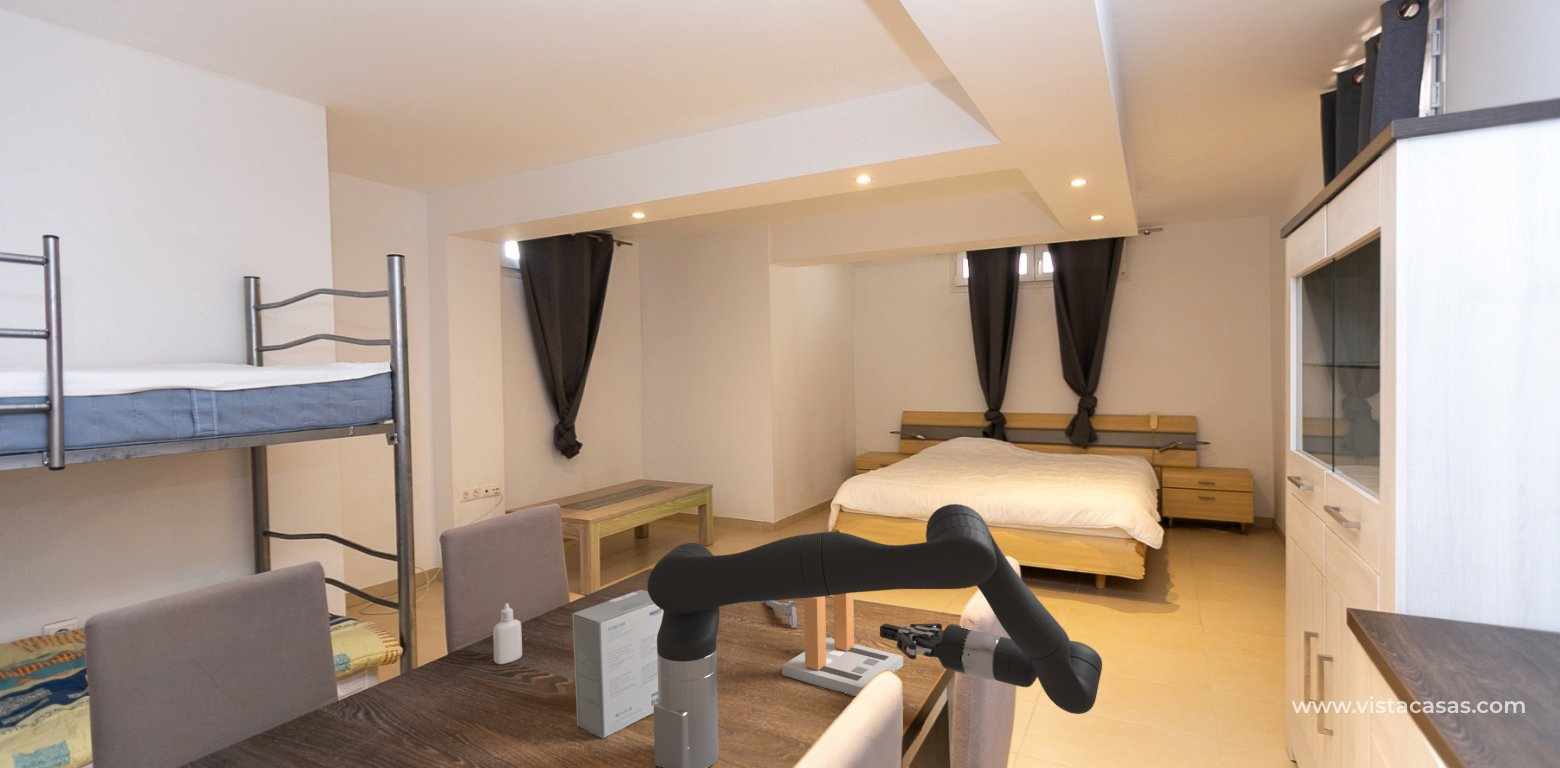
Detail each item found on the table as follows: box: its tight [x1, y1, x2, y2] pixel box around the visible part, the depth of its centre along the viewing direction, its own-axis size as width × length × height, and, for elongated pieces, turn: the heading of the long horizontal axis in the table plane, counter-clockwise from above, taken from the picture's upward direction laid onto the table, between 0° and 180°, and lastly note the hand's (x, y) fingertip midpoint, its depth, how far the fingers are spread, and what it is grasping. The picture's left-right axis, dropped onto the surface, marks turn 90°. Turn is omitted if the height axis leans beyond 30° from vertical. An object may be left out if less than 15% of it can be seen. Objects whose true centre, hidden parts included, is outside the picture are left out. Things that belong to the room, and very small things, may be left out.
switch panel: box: [781, 637, 904, 697], centre depth 144 cm, size 17×18×2 cm
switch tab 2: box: [833, 593, 855, 651], centre depth 150 cm, size 3×3×14 cm
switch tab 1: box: [803, 596, 827, 670], centre depth 141 cm, size 3×3×14 cm
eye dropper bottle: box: [492, 602, 523, 665], centre depth 152 cm, size 4×6×12 cm
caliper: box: [763, 600, 798, 629], centre depth 177 cm, size 20×1×6 cm, turn 21°
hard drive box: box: [572, 589, 664, 739], centre depth 127 cm, size 16×8×20 cm, turn 141°
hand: (881, 629), depth 133 cm, fingers closed
